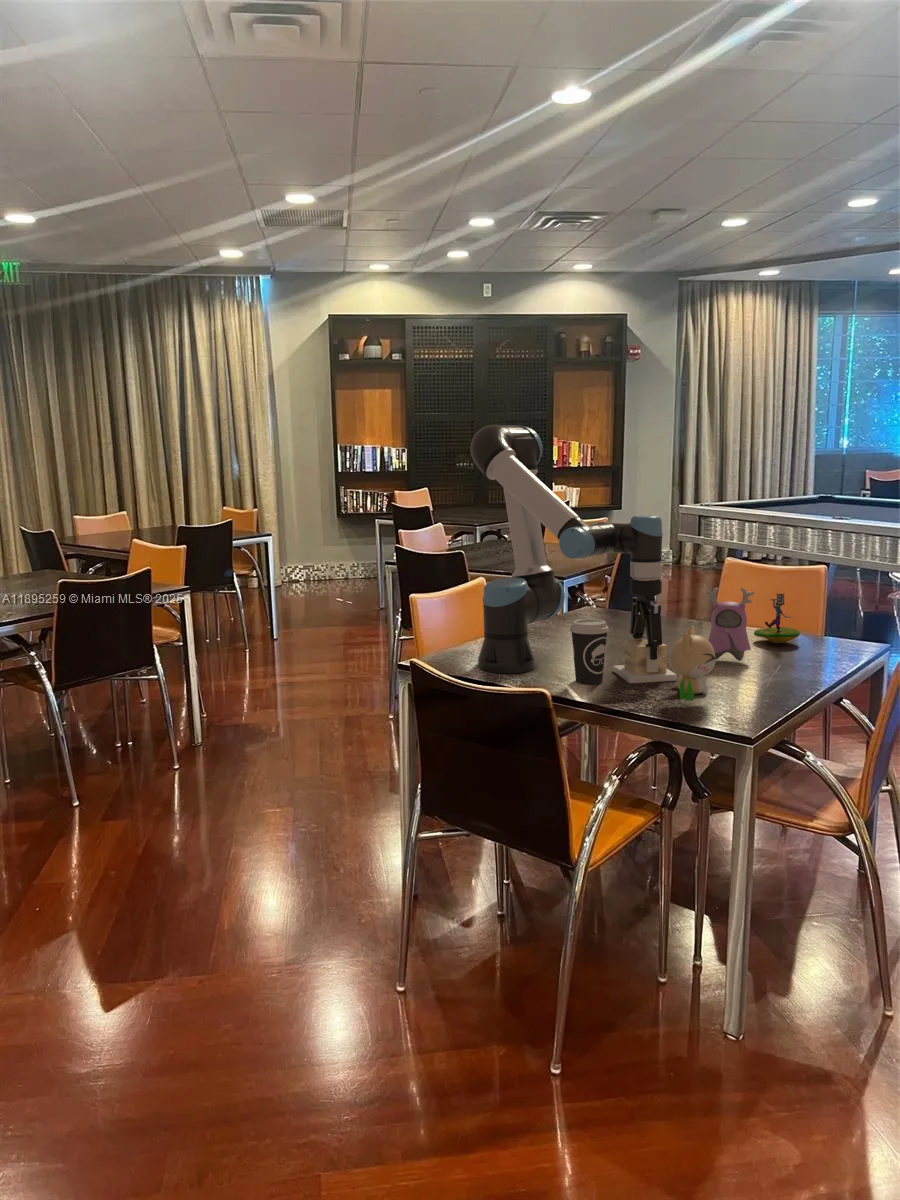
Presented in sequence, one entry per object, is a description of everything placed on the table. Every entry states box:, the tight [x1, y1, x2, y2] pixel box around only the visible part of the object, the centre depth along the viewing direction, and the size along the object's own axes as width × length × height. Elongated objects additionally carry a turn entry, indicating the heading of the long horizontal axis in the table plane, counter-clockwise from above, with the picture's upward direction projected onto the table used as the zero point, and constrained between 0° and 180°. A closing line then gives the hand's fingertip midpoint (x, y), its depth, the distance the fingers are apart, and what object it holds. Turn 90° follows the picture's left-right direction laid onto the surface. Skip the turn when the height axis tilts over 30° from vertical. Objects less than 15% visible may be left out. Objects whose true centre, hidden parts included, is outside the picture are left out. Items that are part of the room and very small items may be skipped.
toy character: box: [705, 586, 755, 662], centre depth 218 cm, size 12×10×20 cm
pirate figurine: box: [753, 593, 801, 644], centre depth 239 cm, size 14×13×15 cm
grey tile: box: [613, 664, 678, 684], centre depth 206 cm, size 12×12×2 cm
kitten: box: [670, 625, 717, 702], centre depth 189 cm, size 15×10×15 cm
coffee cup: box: [569, 618, 610, 686], centre depth 201 cm, size 10×10×15 cm
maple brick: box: [623, 638, 668, 675], centre depth 205 cm, size 8×8×7 cm
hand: (645, 667), depth 206 cm, fingers closed on maple brick, 8 cm apart
